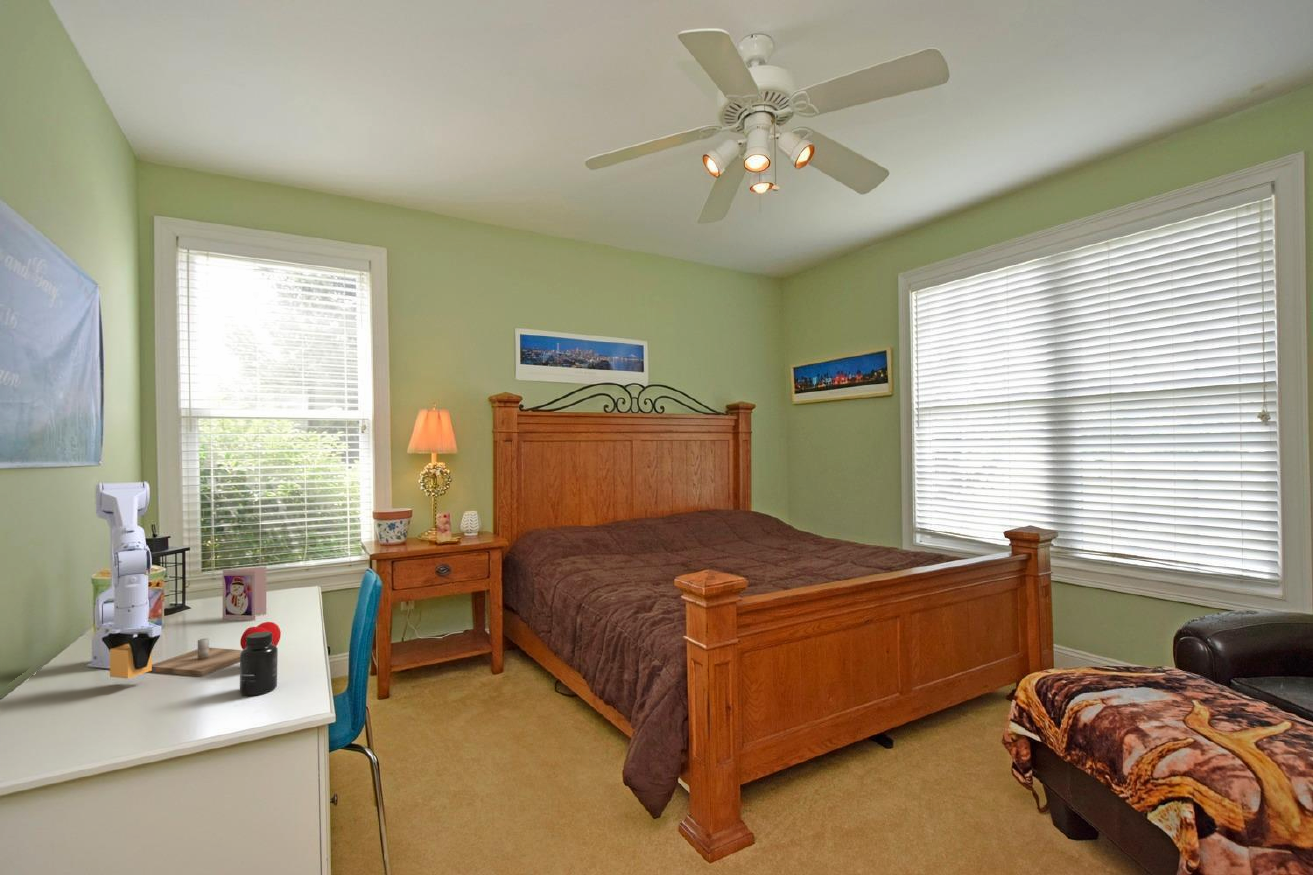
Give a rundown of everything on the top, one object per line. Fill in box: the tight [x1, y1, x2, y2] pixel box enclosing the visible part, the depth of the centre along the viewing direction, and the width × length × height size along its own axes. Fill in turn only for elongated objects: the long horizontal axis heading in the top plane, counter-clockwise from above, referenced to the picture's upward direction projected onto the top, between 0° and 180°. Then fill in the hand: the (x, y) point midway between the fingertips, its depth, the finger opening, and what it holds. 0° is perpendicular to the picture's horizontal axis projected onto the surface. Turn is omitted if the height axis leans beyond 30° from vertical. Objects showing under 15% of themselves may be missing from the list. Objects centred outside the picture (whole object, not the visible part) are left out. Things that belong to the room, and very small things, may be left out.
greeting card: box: [222, 566, 267, 621], centre depth 190 cm, size 11×7×15 cm, turn 81°
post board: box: [149, 637, 243, 677], centre depth 149 cm, size 16×14×6 cm
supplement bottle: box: [239, 632, 279, 697], centre depth 132 cm, size 7×7×12 cm
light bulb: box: [240, 621, 282, 650], centre depth 147 cm, size 9×7×10 cm
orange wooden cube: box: [109, 644, 153, 680], centre depth 135 cm, size 5×5×6 cm
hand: (131, 666), depth 135 cm, fingers closed on orange wooden cube, 5 cm apart
